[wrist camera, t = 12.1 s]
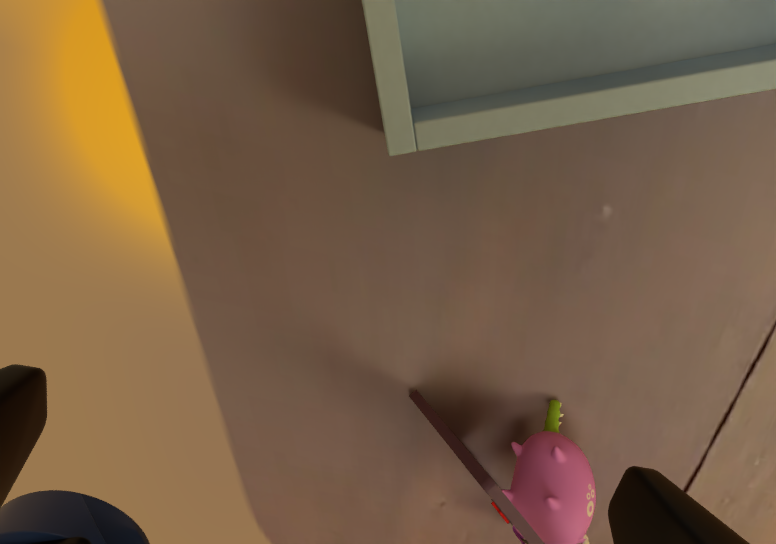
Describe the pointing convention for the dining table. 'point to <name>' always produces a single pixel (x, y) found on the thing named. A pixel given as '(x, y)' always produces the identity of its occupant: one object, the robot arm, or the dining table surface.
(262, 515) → the dining table surface
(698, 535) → the robot arm
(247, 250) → the dining table surface
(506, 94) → the gray tray
